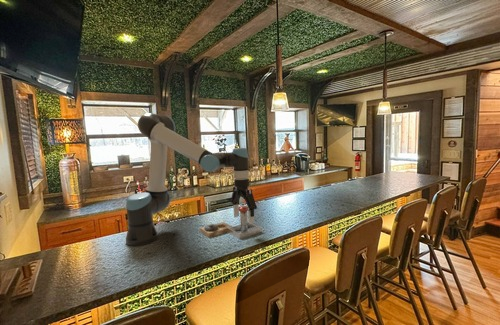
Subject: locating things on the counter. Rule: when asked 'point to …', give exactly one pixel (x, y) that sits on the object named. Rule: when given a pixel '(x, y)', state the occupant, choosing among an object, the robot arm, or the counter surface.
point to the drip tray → (241, 235)
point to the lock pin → (243, 218)
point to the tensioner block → (215, 229)
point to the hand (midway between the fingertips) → (243, 219)
